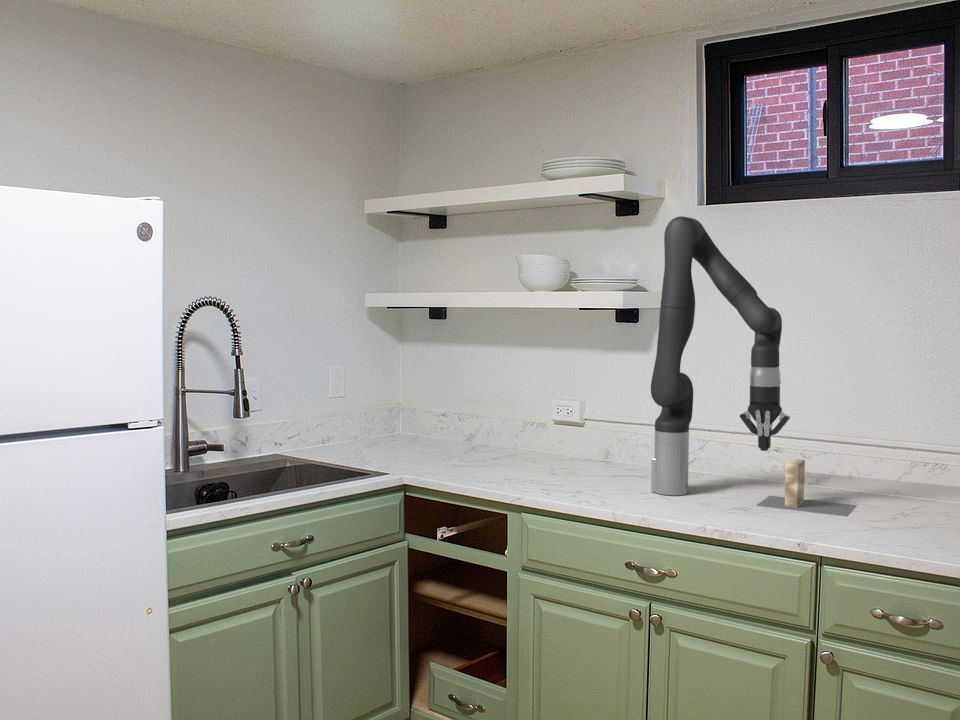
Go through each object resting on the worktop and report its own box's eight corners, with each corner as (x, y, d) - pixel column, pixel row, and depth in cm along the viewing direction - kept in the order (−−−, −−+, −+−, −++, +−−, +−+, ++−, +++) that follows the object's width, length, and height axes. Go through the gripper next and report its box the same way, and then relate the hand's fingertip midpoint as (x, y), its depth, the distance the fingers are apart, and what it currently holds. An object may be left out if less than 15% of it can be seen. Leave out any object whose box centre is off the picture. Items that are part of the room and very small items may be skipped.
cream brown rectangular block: (784, 506, 231) (785, 463, 230) (791, 500, 238) (792, 458, 237) (796, 507, 230) (798, 464, 229) (803, 501, 236) (804, 459, 236)
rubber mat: (755, 507, 232) (755, 505, 232) (769, 497, 244) (769, 495, 244) (847, 518, 221) (847, 516, 220) (856, 507, 232) (856, 505, 232)
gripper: (735, 384, 236) (734, 450, 237) (787, 386, 229) (787, 454, 230) (743, 382, 243) (742, 446, 243) (794, 384, 236) (793, 450, 237)
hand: (764, 450), depth 237 cm, fingers closed
